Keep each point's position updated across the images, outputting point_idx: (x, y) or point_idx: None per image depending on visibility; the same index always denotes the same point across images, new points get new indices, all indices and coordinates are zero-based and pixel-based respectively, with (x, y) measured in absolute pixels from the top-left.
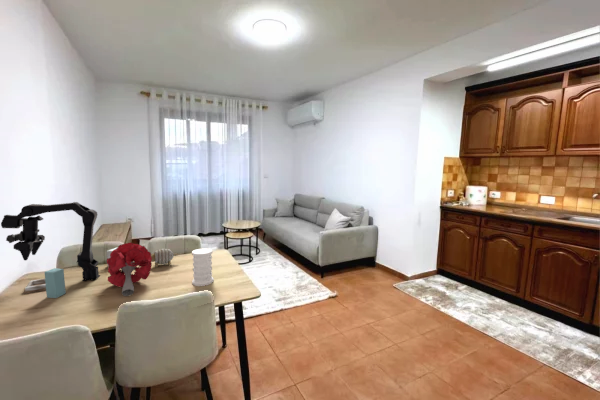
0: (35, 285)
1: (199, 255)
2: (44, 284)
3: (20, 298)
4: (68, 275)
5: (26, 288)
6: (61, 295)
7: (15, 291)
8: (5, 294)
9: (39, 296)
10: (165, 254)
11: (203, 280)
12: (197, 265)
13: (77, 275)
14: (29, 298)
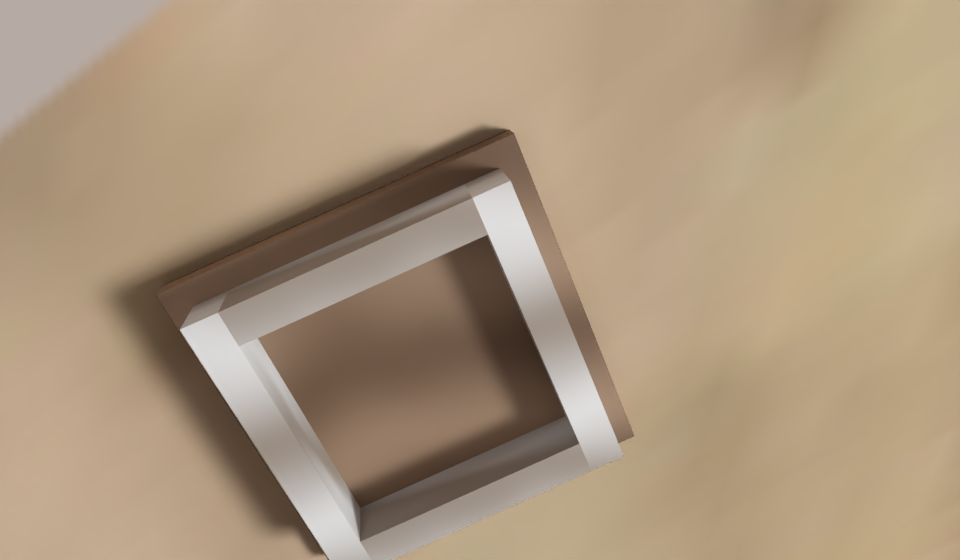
0: (422, 288)
1: None
2: (313, 505)
3: (3, 363)
4: (803, 430)
5: (191, 337)
6: None
7: (266, 94)
8: (146, 18)
9: (80, 548)
10: None
11: None
12: None
13: (768, 537)
14: (10, 476)
